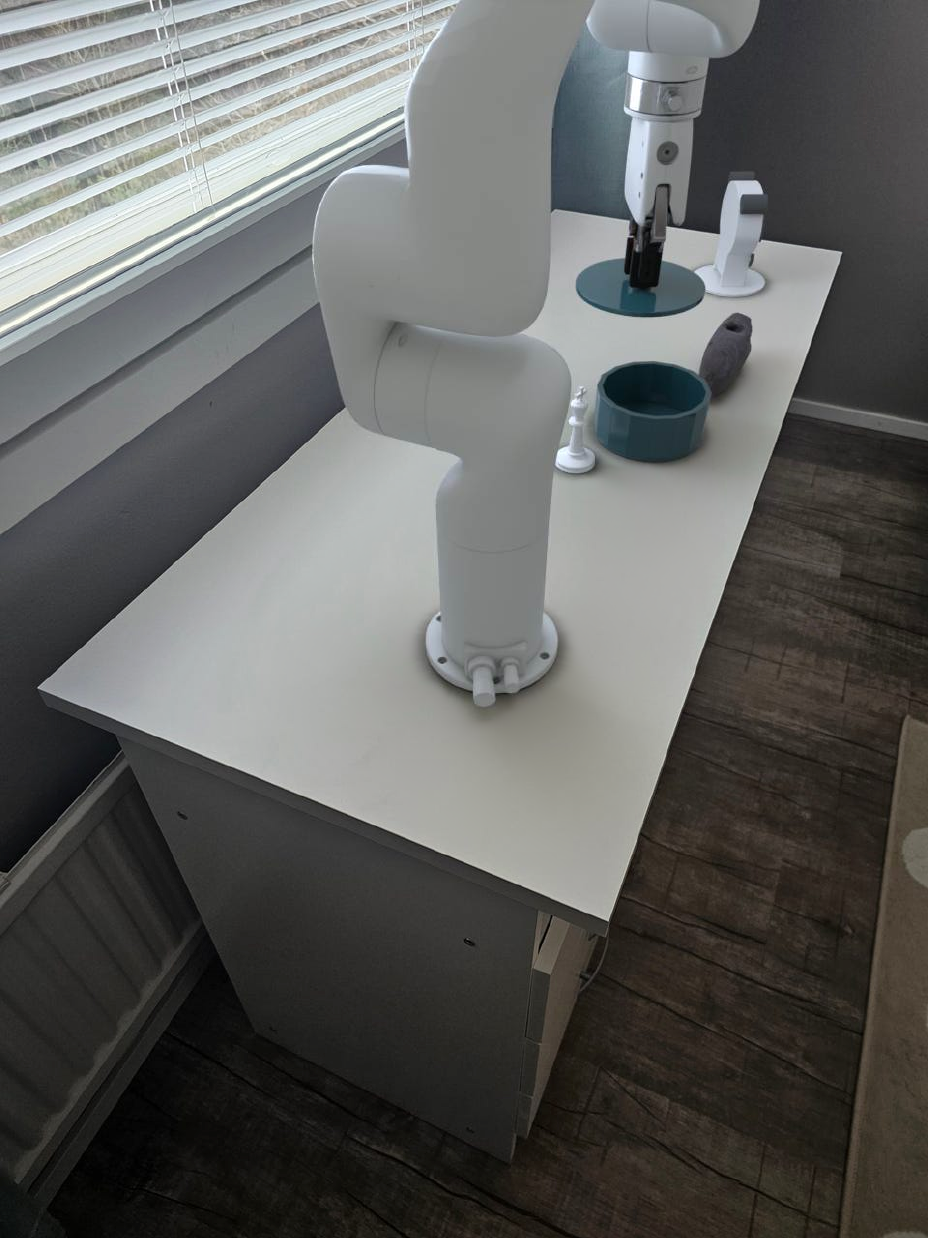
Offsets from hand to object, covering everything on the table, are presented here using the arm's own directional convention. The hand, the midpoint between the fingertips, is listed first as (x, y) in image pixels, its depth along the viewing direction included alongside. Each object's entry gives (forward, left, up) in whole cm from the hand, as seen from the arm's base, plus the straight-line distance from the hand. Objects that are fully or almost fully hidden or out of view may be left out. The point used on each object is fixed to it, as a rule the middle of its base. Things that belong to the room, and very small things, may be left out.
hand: (640, 278), depth 99 cm
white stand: (+40, -24, -19) cm, 51 cm away
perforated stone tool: (+10, -15, -19) cm, 26 cm away
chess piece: (-8, +7, -19) cm, 22 cm away
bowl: (-2, -3, -19) cm, 19 cm away
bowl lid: (0, 0, -1) cm, 1 cm away
